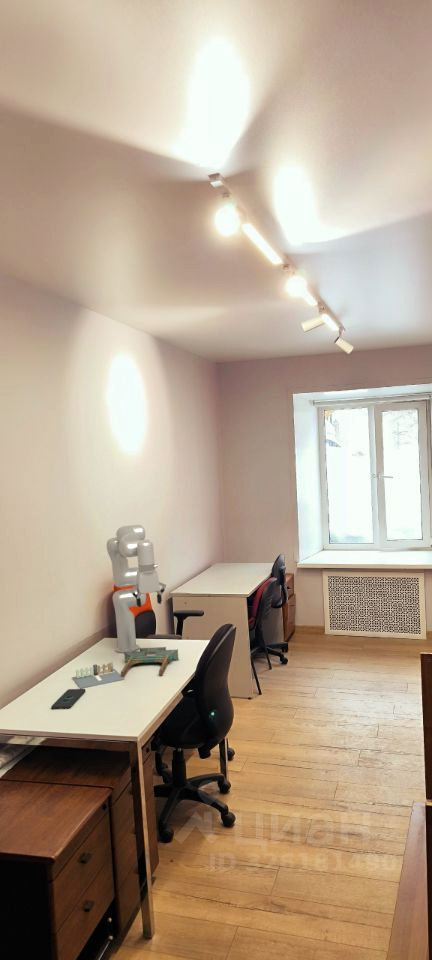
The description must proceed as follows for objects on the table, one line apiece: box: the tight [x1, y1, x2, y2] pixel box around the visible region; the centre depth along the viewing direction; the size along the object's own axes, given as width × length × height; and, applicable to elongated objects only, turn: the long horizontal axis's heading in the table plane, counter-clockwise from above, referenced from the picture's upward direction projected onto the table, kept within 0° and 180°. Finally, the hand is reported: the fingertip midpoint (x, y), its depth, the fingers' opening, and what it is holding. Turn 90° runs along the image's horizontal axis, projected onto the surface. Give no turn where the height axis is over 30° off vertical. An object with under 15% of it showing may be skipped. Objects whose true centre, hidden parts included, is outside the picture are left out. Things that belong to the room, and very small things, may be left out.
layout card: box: [72, 668, 125, 689], centre depth 287 cm, size 17×20×1 cm
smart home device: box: [51, 688, 86, 711], centre depth 262 cm, size 8×2×20 cm
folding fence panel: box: [75, 666, 94, 678], centre depth 289 cm, size 8×1×4 cm, turn 114°
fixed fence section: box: [92, 661, 114, 676], centre depth 293 cm, size 9×2×5 cm, turn 114°
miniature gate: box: [120, 646, 180, 678], centre depth 300 cm, size 27×6×30 cm
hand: (149, 605), depth 291 cm, fingers open, 9 cm apart
